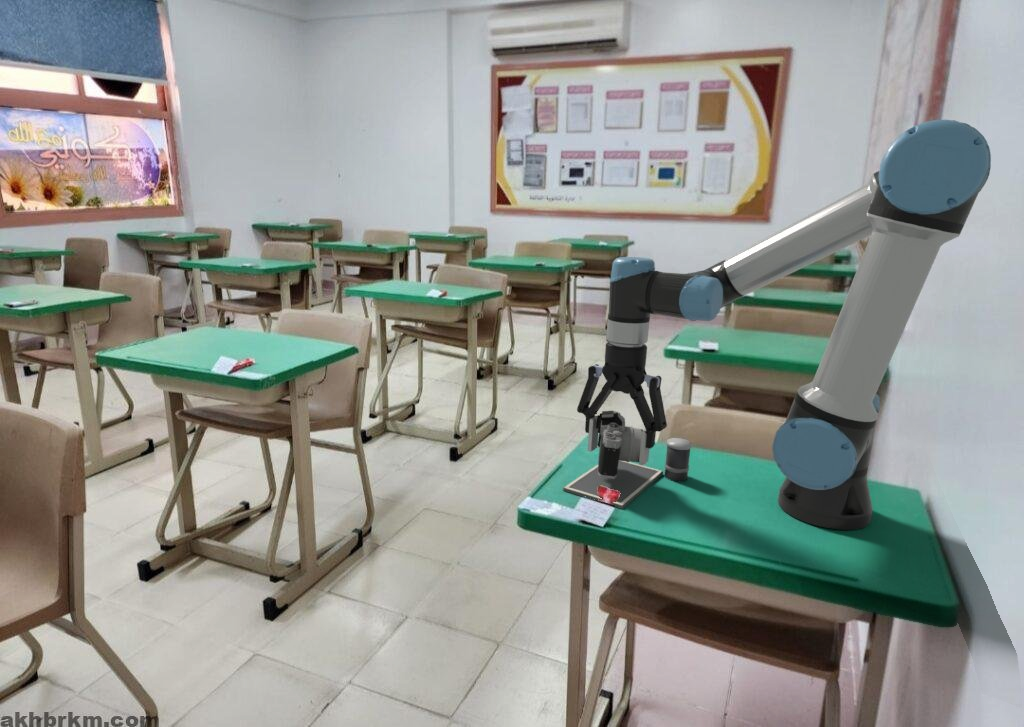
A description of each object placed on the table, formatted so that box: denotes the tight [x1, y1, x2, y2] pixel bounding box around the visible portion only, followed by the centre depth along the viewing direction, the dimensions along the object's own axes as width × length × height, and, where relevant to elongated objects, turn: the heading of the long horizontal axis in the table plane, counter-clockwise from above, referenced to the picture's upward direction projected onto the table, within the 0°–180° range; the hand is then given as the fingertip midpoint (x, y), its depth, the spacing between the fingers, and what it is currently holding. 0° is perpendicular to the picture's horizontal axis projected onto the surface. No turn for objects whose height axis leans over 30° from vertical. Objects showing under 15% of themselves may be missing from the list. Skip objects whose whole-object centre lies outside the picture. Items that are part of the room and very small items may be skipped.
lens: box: [664, 437, 692, 482], centre depth 128 cm, size 5×5×7 cm
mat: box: [562, 460, 664, 510], centre depth 125 cm, size 12×19×1 cm, turn 146°
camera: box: [596, 410, 644, 479], centre depth 123 cm, size 16×9×10 cm, turn 171°
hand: (617, 455), depth 124 cm, fingers closed on camera, 10 cm apart
